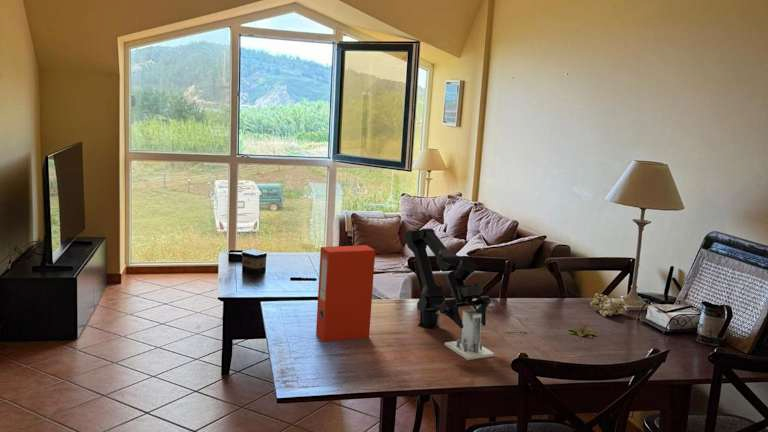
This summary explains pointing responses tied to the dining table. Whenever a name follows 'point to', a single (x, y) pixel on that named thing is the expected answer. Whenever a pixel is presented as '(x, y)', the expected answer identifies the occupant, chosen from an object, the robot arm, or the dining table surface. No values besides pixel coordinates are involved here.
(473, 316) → the block
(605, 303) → the mineral formation
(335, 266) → the file binder
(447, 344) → the white pegged base
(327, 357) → the dining table surface
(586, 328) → the olive green spiky piece
